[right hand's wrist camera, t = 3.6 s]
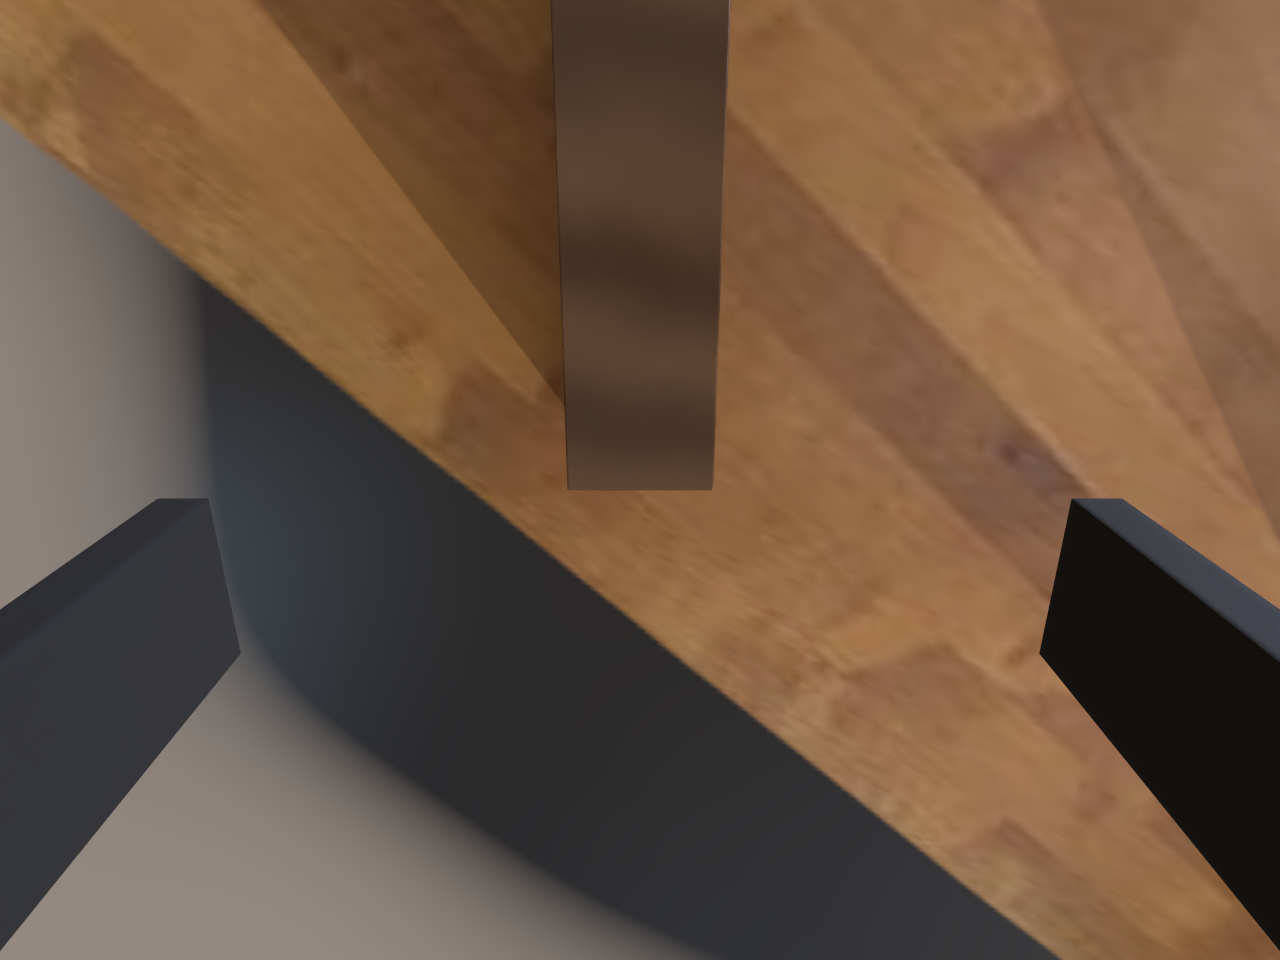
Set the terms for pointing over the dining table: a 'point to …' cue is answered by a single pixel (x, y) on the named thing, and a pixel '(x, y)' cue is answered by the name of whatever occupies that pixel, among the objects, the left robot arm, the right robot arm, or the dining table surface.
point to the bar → (640, 236)
